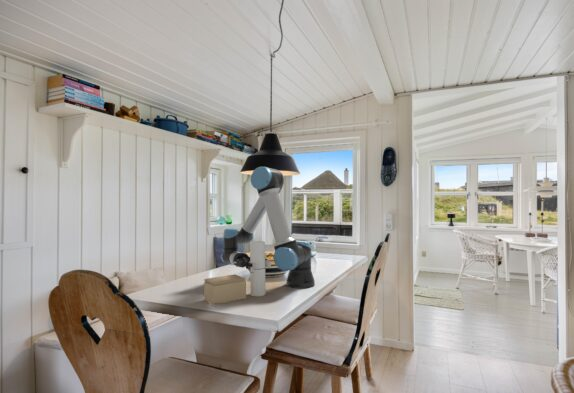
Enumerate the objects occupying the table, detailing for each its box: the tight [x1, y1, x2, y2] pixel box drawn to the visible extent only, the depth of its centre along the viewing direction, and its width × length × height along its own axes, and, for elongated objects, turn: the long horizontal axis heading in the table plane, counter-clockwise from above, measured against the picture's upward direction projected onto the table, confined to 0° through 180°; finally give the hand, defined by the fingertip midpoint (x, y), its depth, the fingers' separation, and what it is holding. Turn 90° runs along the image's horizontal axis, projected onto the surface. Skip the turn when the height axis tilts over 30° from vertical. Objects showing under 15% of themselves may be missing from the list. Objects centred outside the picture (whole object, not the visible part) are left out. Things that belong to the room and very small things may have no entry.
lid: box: [203, 274, 246, 285], centre depth 149 cm, size 10×16×1 cm, turn 127°
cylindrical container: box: [249, 240, 267, 297], centre depth 157 cm, size 7×7×25 cm
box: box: [203, 280, 247, 306], centre depth 149 cm, size 10×16×8 cm, turn 127°
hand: (263, 265), depth 153 cm, fingers closed on cylindrical container, 7 cm apart
